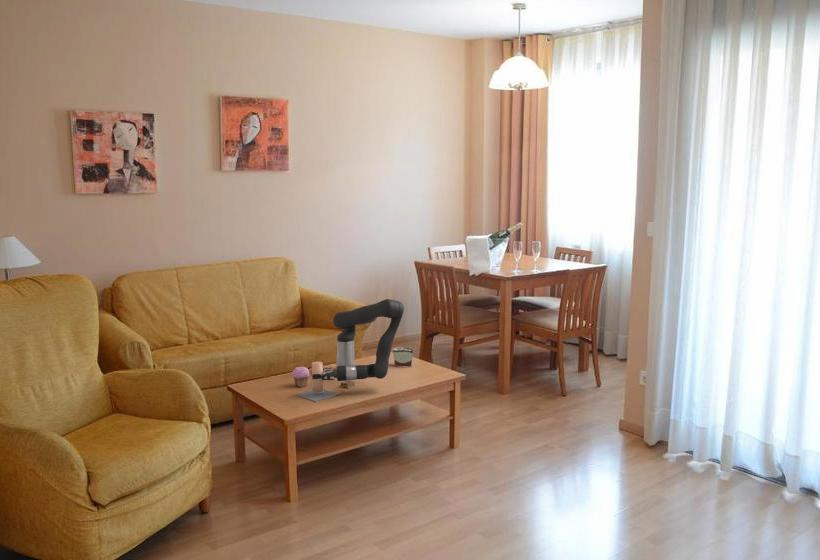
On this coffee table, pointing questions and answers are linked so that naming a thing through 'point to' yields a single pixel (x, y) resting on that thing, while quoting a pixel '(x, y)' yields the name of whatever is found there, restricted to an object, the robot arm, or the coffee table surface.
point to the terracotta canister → (317, 383)
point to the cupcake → (301, 376)
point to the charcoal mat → (317, 395)
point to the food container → (403, 356)
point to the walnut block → (347, 384)
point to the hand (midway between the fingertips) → (312, 375)
